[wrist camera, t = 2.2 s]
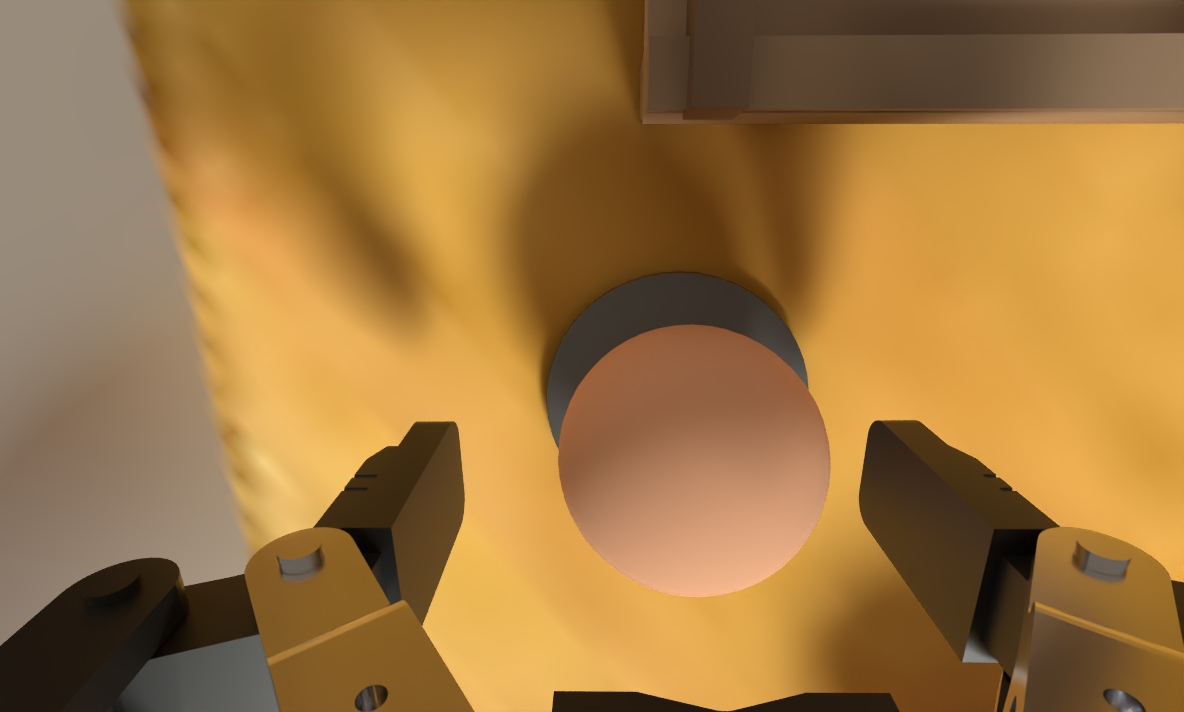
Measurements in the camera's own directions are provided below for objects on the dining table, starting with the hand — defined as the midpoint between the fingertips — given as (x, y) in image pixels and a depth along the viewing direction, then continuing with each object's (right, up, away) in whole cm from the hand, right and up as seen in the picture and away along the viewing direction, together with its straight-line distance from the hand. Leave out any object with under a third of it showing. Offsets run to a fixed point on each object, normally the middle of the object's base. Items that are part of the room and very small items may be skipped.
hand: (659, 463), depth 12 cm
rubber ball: (+1, 0, 0) cm, 1 cm away
